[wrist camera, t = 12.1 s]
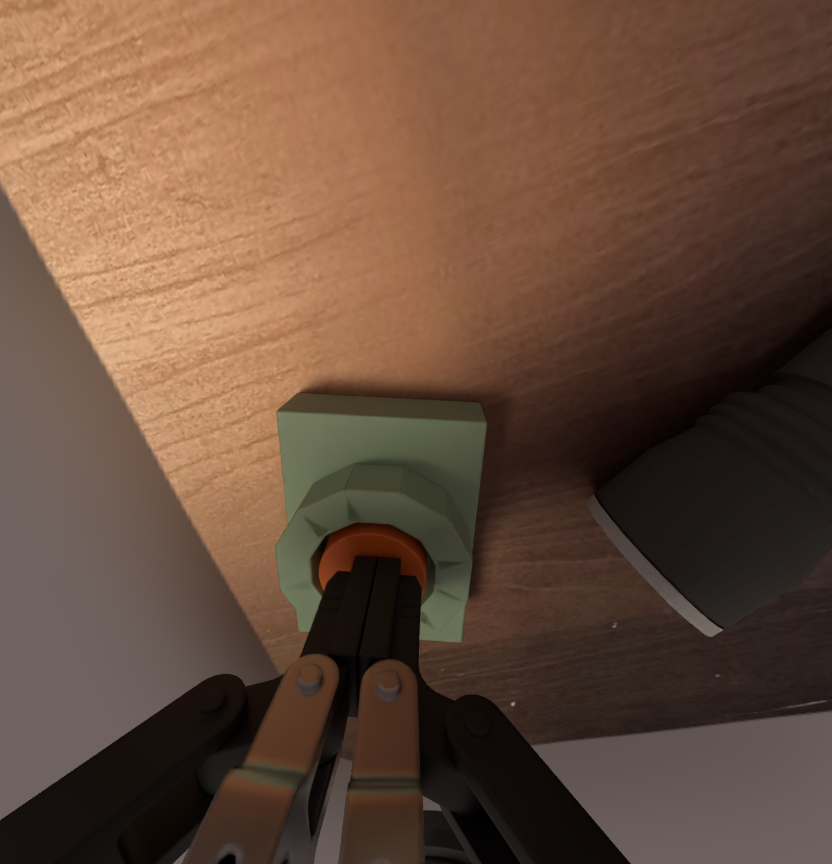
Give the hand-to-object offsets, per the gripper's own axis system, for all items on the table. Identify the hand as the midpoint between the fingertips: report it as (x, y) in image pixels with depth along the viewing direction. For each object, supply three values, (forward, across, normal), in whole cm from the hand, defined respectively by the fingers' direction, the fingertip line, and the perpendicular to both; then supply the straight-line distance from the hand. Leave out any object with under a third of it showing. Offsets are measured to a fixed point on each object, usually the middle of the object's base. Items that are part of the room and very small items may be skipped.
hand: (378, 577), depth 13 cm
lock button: (+2, 0, 0) cm, 2 cm away
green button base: (+4, 0, 0) cm, 4 cm away
